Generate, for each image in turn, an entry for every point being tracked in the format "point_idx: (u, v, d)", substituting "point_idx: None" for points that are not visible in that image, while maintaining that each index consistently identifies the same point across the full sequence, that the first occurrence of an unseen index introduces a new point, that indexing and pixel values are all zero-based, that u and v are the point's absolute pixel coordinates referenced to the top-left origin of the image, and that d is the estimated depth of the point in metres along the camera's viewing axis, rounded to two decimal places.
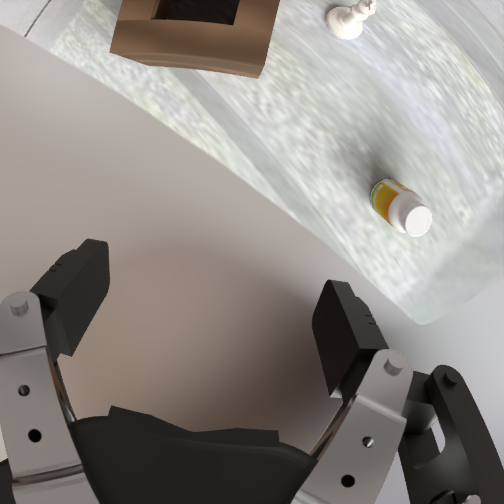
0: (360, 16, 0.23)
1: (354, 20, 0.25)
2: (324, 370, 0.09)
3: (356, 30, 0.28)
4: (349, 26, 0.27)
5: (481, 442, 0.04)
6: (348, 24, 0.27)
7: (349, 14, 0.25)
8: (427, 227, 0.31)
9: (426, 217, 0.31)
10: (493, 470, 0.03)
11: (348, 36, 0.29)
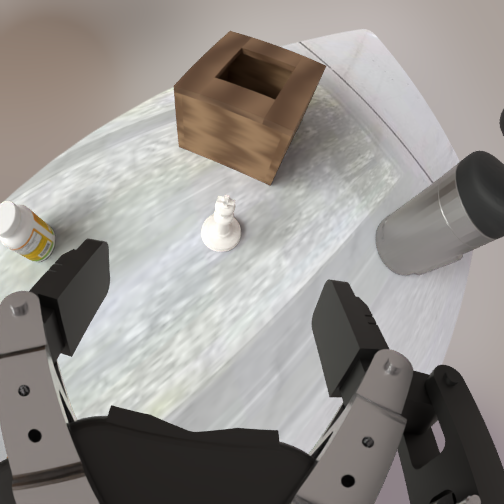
0: (217, 212, 0.31)
1: None
2: (324, 370, 0.09)
3: (209, 237, 0.36)
4: (213, 226, 0.35)
5: (481, 442, 0.04)
6: (215, 223, 0.35)
7: None
8: None
9: (3, 225, 0.24)
10: (493, 469, 0.03)
11: (203, 228, 0.36)
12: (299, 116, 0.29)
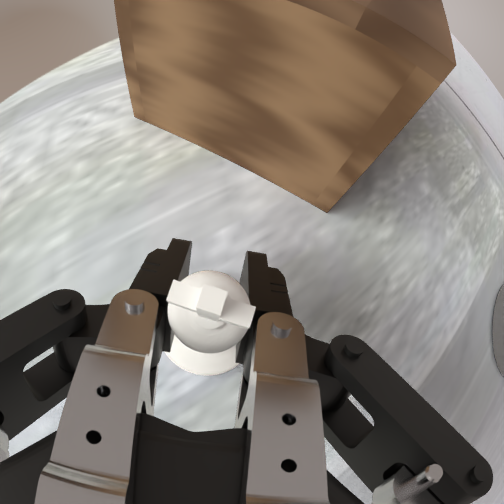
0: None
1: None
2: None
3: (174, 345, 0.13)
4: None
5: (414, 408, 0.05)
6: None
7: None
8: None
9: None
10: (440, 430, 0.05)
11: None
12: (448, 39, 0.07)
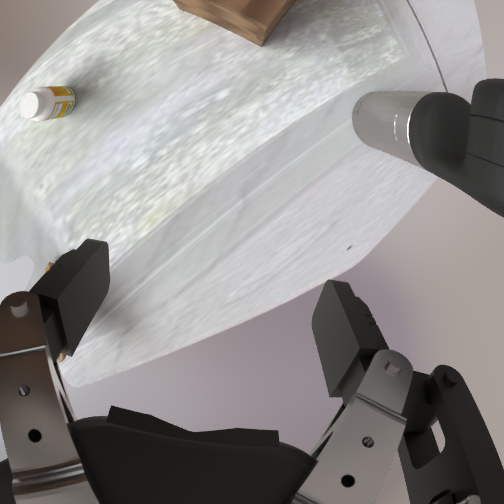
0: None
1: None
2: (324, 370, 0.09)
3: None
4: None
5: (480, 442, 0.04)
6: None
7: None
8: (23, 115, 0.29)
9: (30, 112, 0.29)
10: (493, 469, 0.03)
11: None
12: (277, 10, 0.24)
